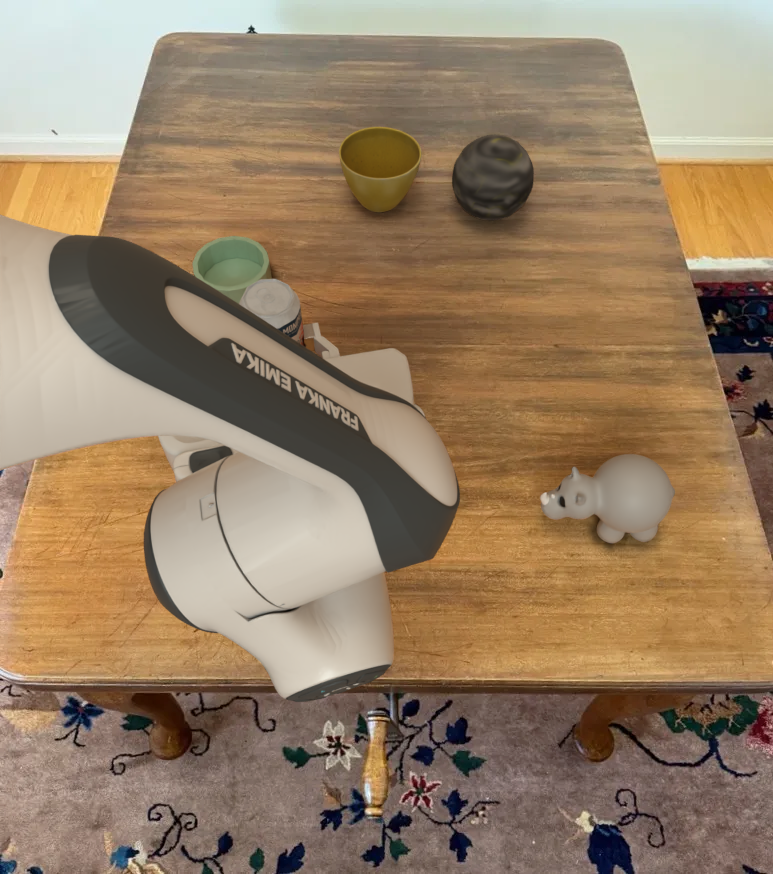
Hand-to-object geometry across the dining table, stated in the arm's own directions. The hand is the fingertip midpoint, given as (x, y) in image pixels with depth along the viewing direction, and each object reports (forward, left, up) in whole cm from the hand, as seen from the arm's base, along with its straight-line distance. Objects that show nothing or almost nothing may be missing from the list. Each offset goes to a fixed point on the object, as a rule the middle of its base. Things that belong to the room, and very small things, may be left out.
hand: (273, 334), depth 62 cm
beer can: (0, -1, -7) cm, 7 cm away
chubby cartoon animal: (+27, -15, -17) cm, 35 cm away
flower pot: (+17, +34, -17) cm, 42 cm away
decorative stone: (+30, +29, -17) cm, 45 cm away
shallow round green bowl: (-3, +23, -17) cm, 29 cm away
